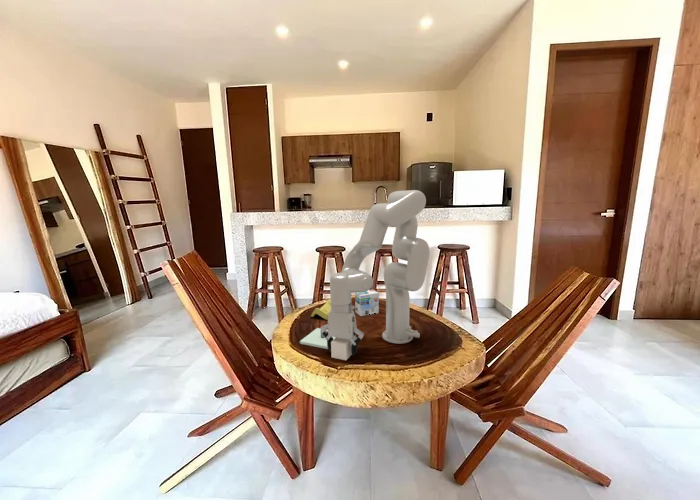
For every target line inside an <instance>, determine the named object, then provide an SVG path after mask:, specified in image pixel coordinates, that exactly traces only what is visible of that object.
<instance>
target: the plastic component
mask: <svg viewBox="0 0 700 500" xmlns="http://www.w3.org/2000/svg"><path fill="white" fill-rule="evenodd" d="M330 309H331V299H330V298H329V299H328V300H327V301H326V302H325V303H324V304H323V305H322V306H321V307H320V308H319V307H316V308H314V310H313V311H312V313H311V314H310V317H312V318H314V317H315V316H317V315H318V316H319V317H321V318H323V319H324V320H325V321H326V320H327V321H328V316H329V311H330Z"/></svg>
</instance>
